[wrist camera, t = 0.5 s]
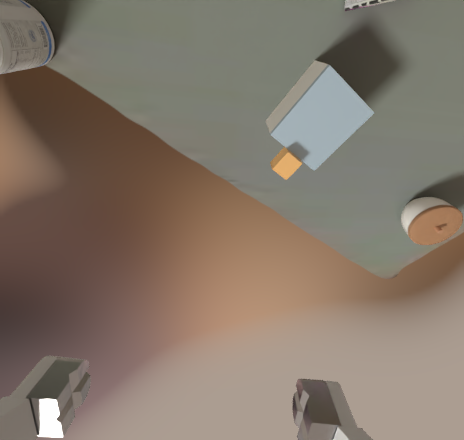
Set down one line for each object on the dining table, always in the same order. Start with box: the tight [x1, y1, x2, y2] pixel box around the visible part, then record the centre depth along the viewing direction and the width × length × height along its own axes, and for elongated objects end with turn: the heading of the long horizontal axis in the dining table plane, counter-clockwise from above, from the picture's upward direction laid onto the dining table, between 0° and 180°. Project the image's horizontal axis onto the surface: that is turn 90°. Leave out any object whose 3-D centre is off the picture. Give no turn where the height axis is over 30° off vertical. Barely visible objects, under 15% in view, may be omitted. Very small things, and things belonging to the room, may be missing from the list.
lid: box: [270, 65, 374, 180], centre depth 44 cm, size 17×11×4 cm, turn 143°
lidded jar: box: [401, 197, 463, 245], centre depth 60 cm, size 11×11×9 cm
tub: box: [266, 60, 328, 132], centre depth 47 cm, size 13×11×8 cm
